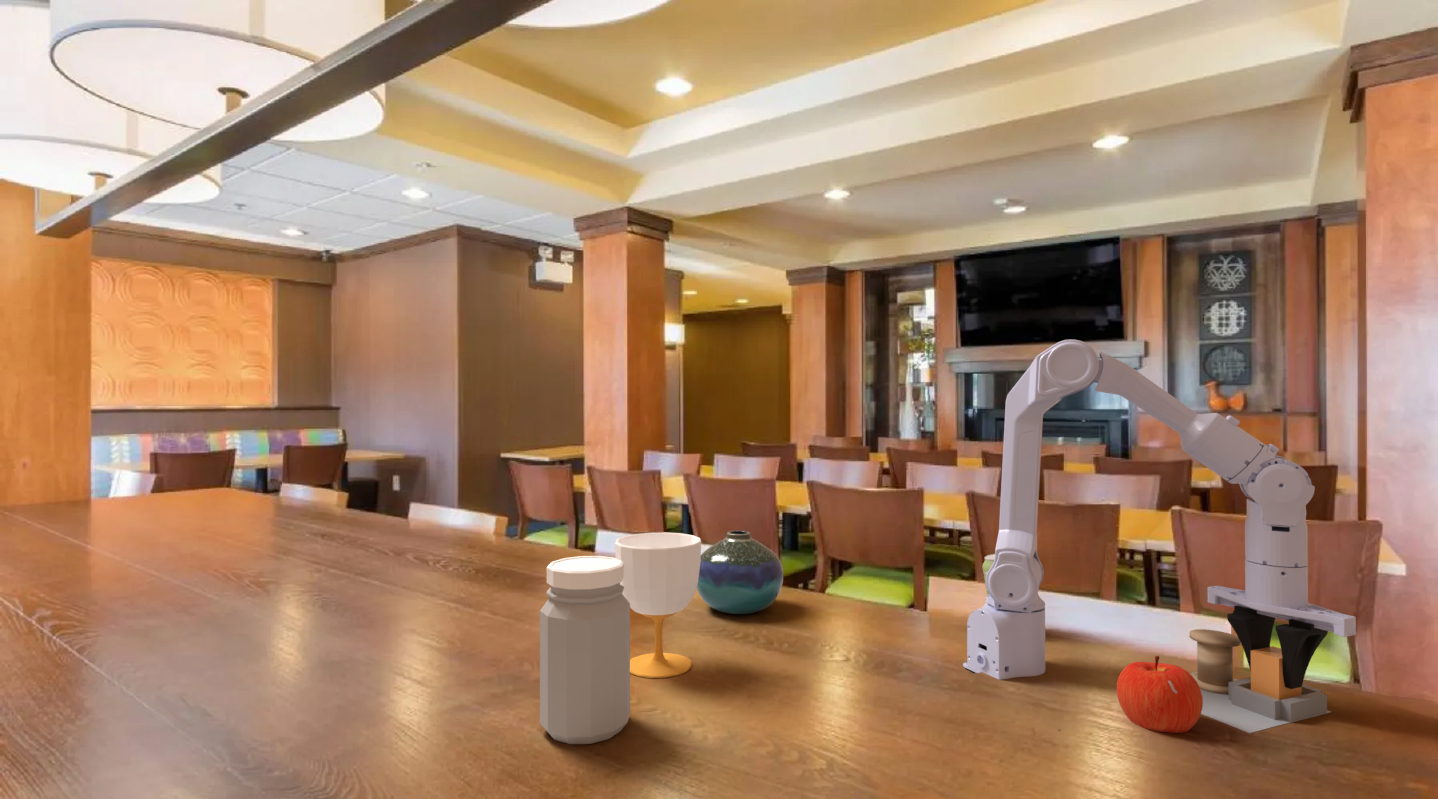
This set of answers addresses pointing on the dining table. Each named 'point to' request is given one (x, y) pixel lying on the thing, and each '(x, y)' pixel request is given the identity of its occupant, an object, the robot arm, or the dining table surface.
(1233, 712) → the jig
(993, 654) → the robot arm
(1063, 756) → the dining table surface
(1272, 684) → the block
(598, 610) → the jar
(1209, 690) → the knob
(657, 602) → the cup
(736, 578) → the vase
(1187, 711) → the apple
